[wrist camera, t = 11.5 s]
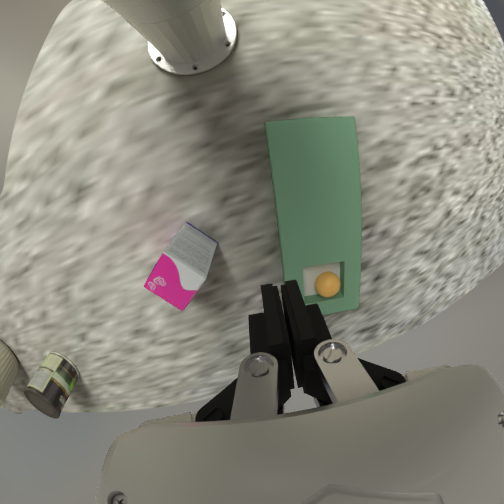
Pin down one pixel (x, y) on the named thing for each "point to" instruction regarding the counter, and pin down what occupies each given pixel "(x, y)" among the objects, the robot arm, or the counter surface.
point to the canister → (6, 371)
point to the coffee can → (52, 384)
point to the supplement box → (182, 267)
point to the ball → (327, 284)
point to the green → (318, 205)
